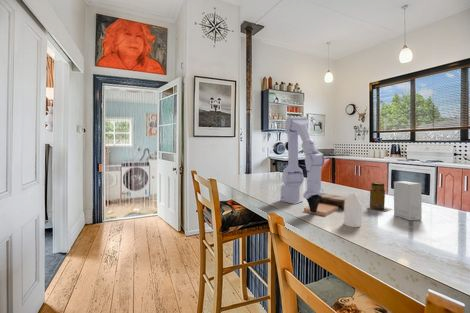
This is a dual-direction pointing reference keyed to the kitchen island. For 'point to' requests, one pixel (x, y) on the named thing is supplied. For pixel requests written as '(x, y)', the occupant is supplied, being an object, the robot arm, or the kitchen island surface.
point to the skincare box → (407, 200)
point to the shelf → (333, 199)
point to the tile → (323, 209)
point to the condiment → (377, 197)
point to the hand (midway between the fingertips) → (313, 212)
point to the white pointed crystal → (352, 211)
